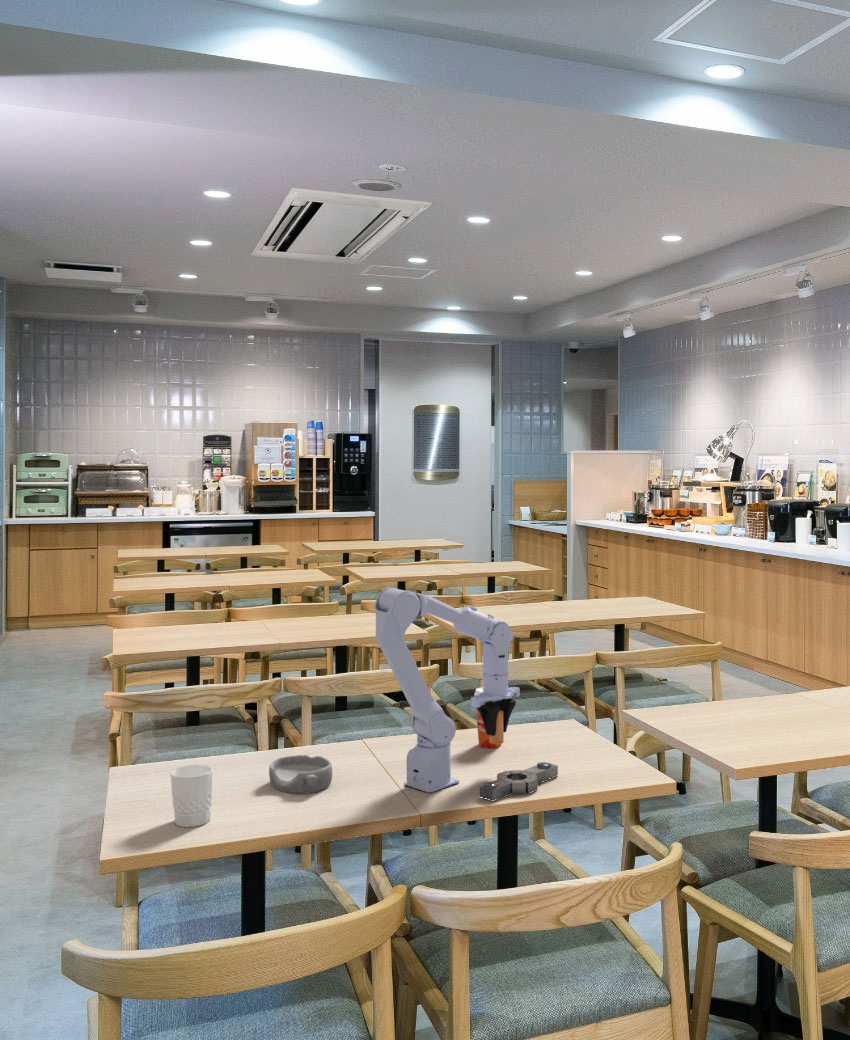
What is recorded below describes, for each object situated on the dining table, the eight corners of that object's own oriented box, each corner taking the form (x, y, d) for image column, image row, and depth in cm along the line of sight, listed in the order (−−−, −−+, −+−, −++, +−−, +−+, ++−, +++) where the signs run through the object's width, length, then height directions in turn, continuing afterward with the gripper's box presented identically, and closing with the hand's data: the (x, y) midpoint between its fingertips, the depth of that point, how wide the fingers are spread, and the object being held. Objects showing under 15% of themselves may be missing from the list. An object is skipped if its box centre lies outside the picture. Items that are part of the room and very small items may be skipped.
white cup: (218, 813, 182) (216, 764, 181) (207, 828, 174) (205, 777, 173) (179, 813, 182) (177, 764, 182) (166, 828, 174) (165, 777, 174)
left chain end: (501, 804, 185) (501, 790, 185) (470, 794, 191) (470, 781, 190) (544, 787, 195) (544, 774, 195) (514, 778, 201) (514, 766, 200)
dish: (321, 798, 191) (321, 774, 190) (259, 794, 193) (258, 771, 193) (341, 776, 205) (341, 754, 205) (283, 772, 208) (282, 751, 207)
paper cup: (468, 744, 227) (467, 689, 226) (489, 738, 232) (489, 684, 231) (491, 751, 221) (490, 694, 220) (512, 745, 226) (511, 689, 226)
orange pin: (497, 744, 203) (496, 713, 202) (486, 742, 205) (486, 711, 205) (506, 741, 205) (506, 711, 205) (495, 739, 207) (495, 708, 207)
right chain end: (519, 797, 189) (519, 783, 189) (489, 788, 195) (489, 775, 195) (566, 778, 200) (566, 765, 200) (536, 770, 206) (536, 758, 206)
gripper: (487, 681, 196) (488, 743, 197) (529, 670, 207) (530, 729, 207) (463, 676, 201) (464, 737, 202) (506, 666, 212) (506, 724, 212)
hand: (496, 733), depth 205 cm, fingers closed on orange pin, 3 cm apart
